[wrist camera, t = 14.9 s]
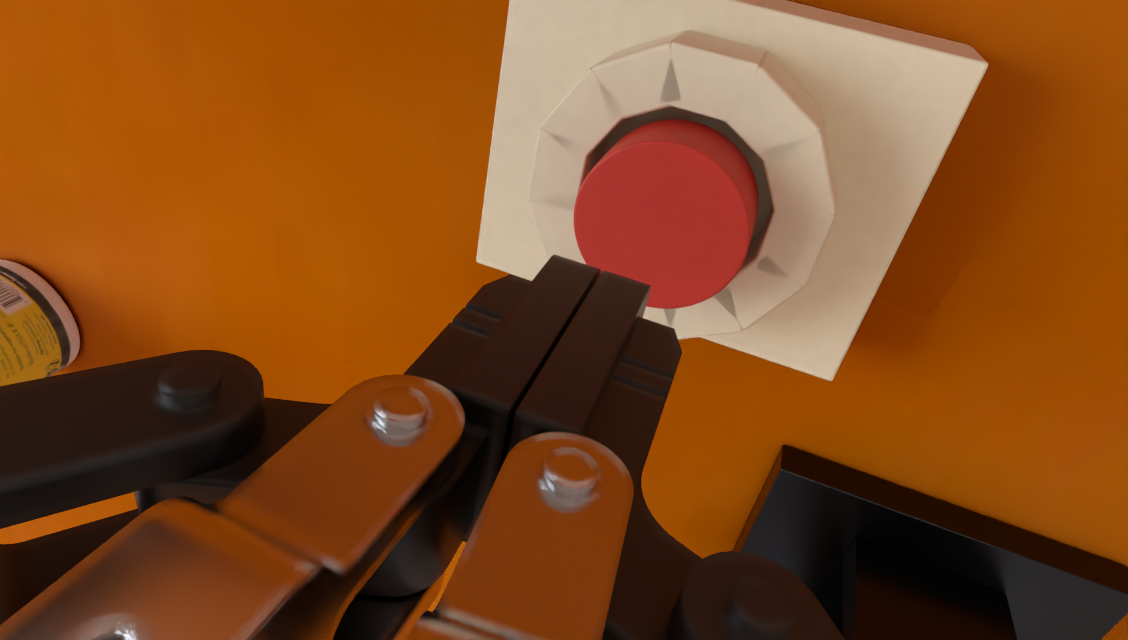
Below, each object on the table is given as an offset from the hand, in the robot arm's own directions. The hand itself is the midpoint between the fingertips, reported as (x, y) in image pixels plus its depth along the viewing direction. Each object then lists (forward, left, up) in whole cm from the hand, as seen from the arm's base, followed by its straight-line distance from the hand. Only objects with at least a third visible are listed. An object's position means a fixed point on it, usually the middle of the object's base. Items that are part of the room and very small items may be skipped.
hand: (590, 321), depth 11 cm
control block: (0, 0, -10) cm, 10 cm away
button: (0, 0, -6) cm, 6 cm away
